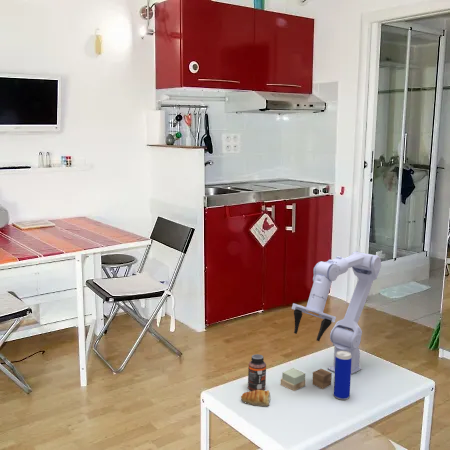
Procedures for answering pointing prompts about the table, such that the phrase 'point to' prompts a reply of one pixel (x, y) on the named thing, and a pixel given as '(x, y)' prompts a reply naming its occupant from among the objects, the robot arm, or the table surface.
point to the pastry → (256, 397)
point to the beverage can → (342, 375)
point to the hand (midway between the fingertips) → (306, 337)
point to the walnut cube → (322, 378)
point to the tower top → (293, 376)
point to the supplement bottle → (257, 373)
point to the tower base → (291, 386)
